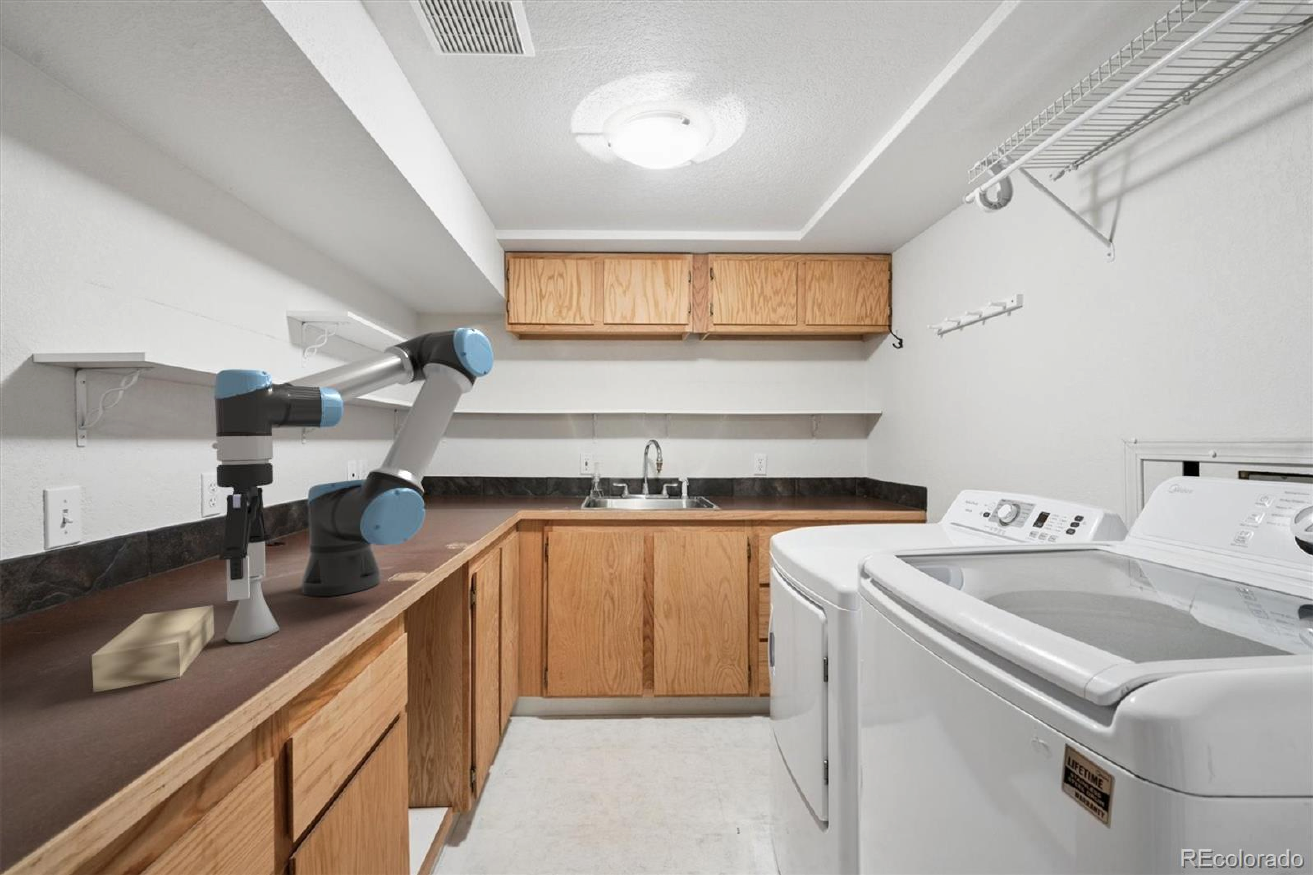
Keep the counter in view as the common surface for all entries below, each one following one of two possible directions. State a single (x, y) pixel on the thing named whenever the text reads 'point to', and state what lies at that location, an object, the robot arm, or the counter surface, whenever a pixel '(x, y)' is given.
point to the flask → (251, 616)
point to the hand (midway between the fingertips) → (247, 588)
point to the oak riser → (153, 648)
